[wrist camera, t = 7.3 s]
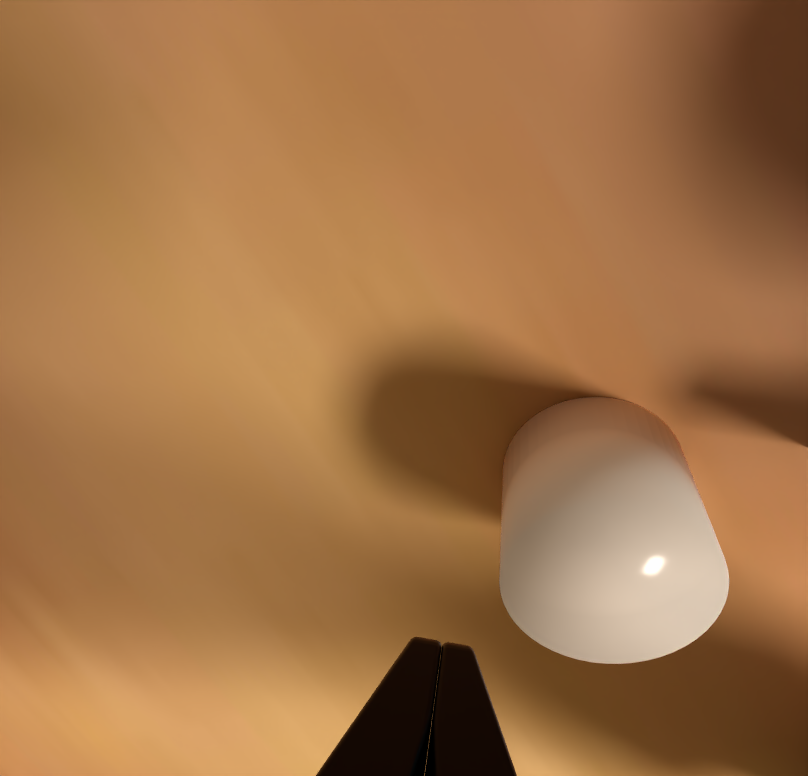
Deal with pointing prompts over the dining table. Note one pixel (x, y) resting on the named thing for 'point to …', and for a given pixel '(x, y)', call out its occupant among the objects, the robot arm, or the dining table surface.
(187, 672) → the dining table surface
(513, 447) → the cream rounded cylinder
